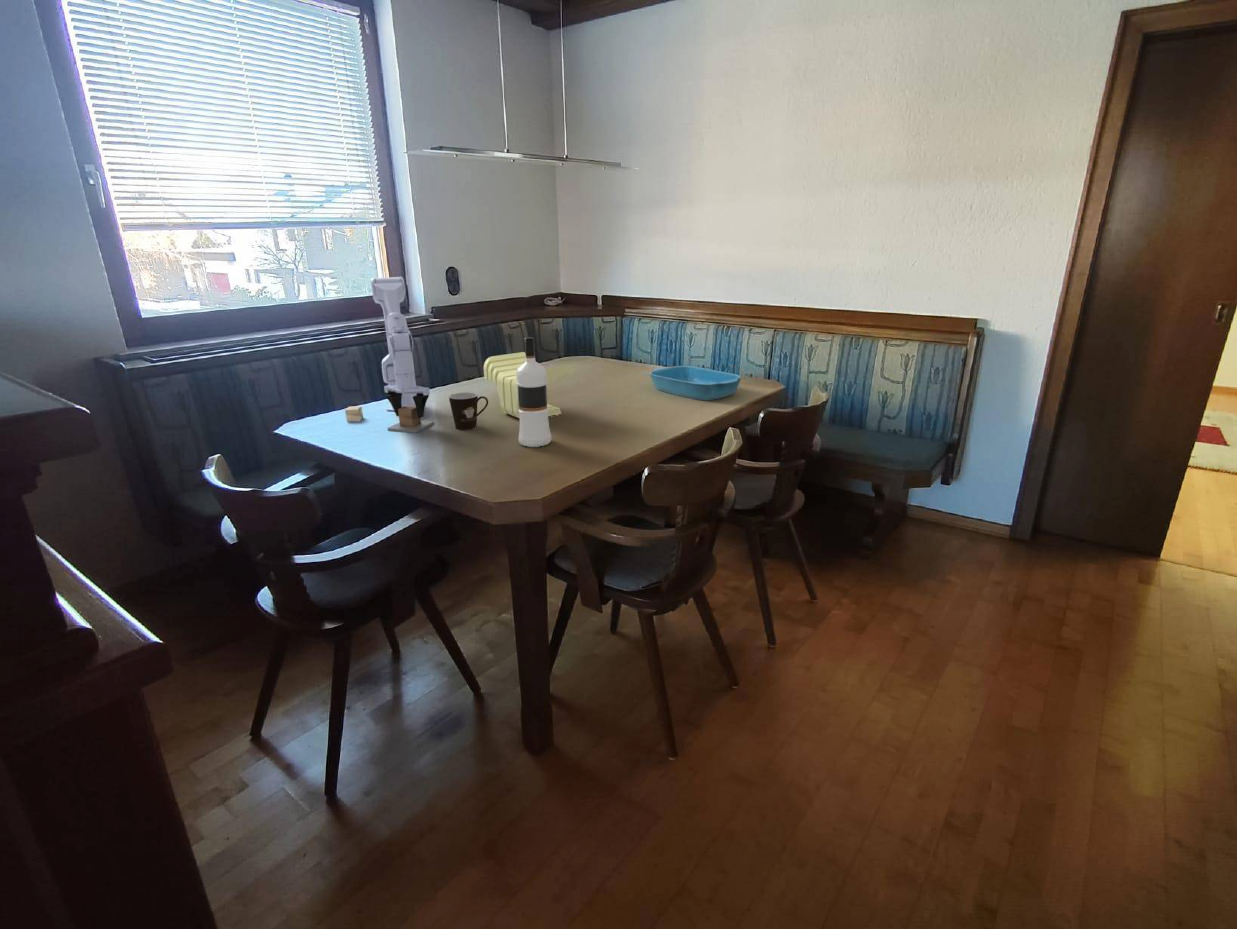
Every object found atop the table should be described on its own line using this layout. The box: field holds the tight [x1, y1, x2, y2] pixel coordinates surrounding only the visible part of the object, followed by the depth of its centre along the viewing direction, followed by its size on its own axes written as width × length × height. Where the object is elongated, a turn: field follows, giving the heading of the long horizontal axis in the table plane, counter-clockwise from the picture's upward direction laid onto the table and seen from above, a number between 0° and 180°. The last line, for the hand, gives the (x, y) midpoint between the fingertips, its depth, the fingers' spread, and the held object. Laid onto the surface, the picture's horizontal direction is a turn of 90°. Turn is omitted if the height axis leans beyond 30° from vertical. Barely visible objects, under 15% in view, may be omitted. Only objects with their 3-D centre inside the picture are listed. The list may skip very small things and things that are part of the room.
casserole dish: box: [649, 365, 742, 401], centre depth 241 cm, size 37×22×7 cm, turn 40°
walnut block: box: [398, 405, 422, 427], centre depth 201 cm, size 4×4×6 cm
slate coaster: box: [387, 419, 435, 434], centre depth 202 cm, size 10×10×1 cm
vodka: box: [516, 336, 552, 448], centre depth 180 cm, size 9×9×30 cm
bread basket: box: [483, 351, 576, 419], centre depth 212 cm, size 30×16×18 cm, turn 39°
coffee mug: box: [448, 391, 489, 431], centre depth 200 cm, size 12×9×10 cm
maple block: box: [344, 405, 364, 422], centre depth 211 cm, size 4×4×4 cm
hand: (410, 416), depth 201 cm, fingers open, 7 cm apart
